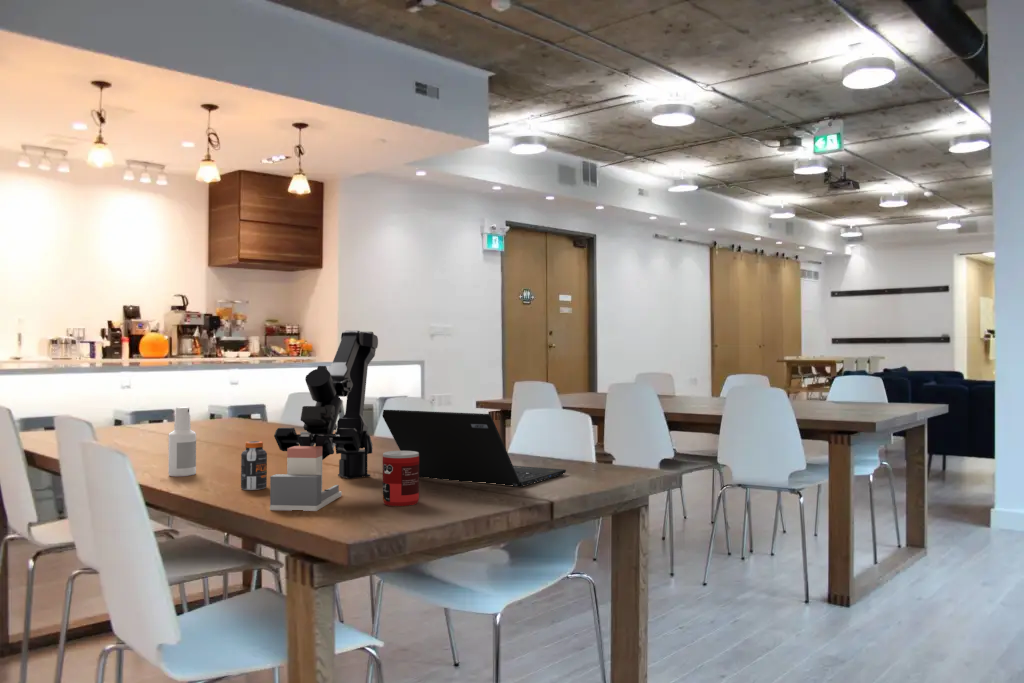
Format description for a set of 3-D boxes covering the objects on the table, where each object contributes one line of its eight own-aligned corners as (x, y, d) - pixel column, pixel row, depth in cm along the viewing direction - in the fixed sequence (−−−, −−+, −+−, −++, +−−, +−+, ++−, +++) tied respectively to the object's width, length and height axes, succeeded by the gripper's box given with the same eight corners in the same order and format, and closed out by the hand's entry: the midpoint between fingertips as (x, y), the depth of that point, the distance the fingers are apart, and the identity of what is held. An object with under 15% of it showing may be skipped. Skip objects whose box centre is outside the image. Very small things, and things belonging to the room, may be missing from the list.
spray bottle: (189, 476, 208) (189, 408, 208) (163, 476, 208) (164, 408, 208) (200, 472, 215) (200, 406, 215) (175, 472, 215) (175, 406, 215)
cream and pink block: (294, 495, 174) (294, 446, 174) (322, 496, 174) (322, 446, 174) (287, 499, 170) (287, 448, 170) (316, 500, 170) (316, 448, 170)
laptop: (567, 476, 211) (567, 404, 211) (490, 499, 179) (490, 414, 179) (465, 466, 229) (465, 399, 229) (378, 486, 197) (378, 408, 197)
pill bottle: (258, 491, 188) (258, 443, 188) (236, 490, 189) (236, 442, 189) (271, 486, 194) (271, 440, 194) (249, 485, 195) (249, 439, 195)
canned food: (386, 499, 177) (386, 450, 177) (421, 499, 177) (421, 450, 177) (379, 506, 170) (379, 455, 170) (416, 506, 169) (416, 455, 169)
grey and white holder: (299, 494, 183) (299, 464, 183) (341, 495, 182) (341, 465, 182) (269, 510, 166) (269, 476, 166) (316, 510, 165) (316, 477, 165)
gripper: (277, 392, 181) (257, 446, 170) (357, 392, 179) (341, 447, 168) (290, 423, 188) (271, 477, 177) (366, 424, 187) (352, 478, 176)
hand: (308, 469), depth 174 cm, fingers closed
